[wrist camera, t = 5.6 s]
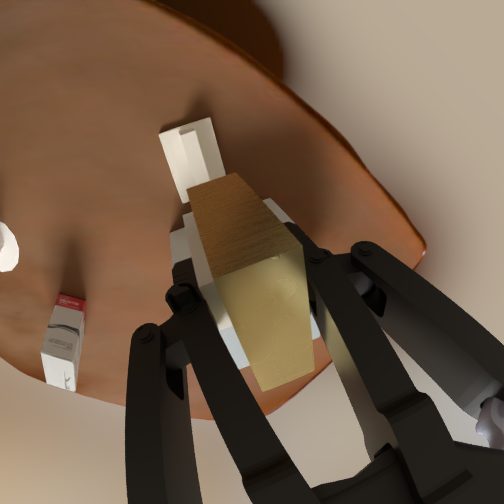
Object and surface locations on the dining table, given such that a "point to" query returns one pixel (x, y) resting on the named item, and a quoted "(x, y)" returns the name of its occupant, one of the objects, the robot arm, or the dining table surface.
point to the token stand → (192, 155)
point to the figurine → (7, 249)
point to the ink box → (64, 342)
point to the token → (256, 278)
